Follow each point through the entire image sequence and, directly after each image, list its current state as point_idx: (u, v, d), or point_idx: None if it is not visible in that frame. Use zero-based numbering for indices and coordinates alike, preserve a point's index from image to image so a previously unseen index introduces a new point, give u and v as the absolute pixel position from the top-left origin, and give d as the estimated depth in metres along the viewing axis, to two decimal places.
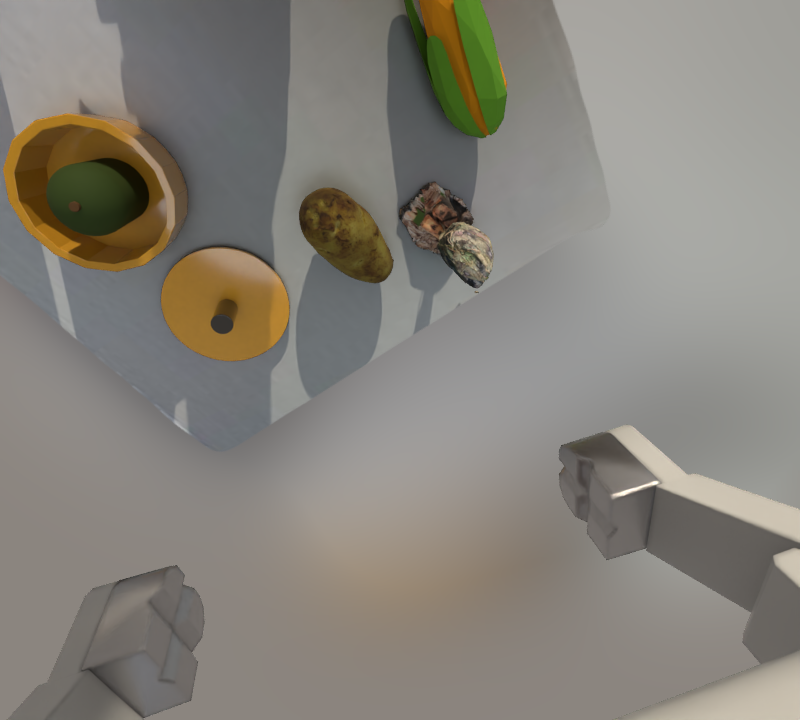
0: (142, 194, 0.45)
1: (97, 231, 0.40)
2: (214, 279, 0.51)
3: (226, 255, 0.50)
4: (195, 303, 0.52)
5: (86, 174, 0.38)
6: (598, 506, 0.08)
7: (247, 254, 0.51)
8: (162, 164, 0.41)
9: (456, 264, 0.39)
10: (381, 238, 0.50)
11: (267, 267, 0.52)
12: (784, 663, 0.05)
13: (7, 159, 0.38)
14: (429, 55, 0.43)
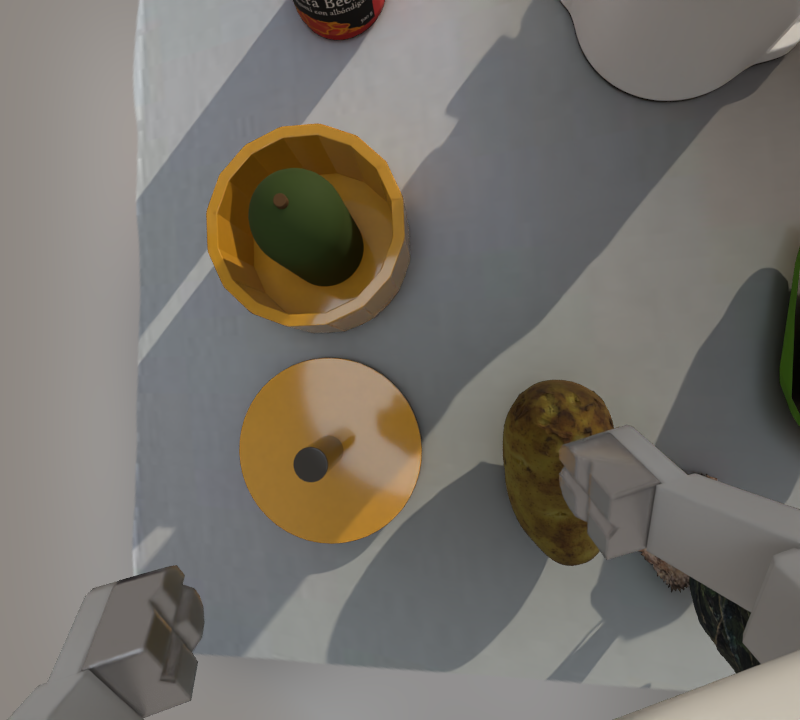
0: (351, 262, 0.33)
1: (276, 247, 0.27)
2: (344, 405, 0.34)
3: (381, 387, 0.34)
4: (297, 417, 0.35)
5: (323, 185, 0.27)
6: (598, 506, 0.08)
7: (406, 403, 0.34)
8: (405, 239, 0.30)
9: None
10: None
11: (417, 435, 0.34)
12: (784, 663, 0.05)
13: (258, 139, 0.30)
14: None
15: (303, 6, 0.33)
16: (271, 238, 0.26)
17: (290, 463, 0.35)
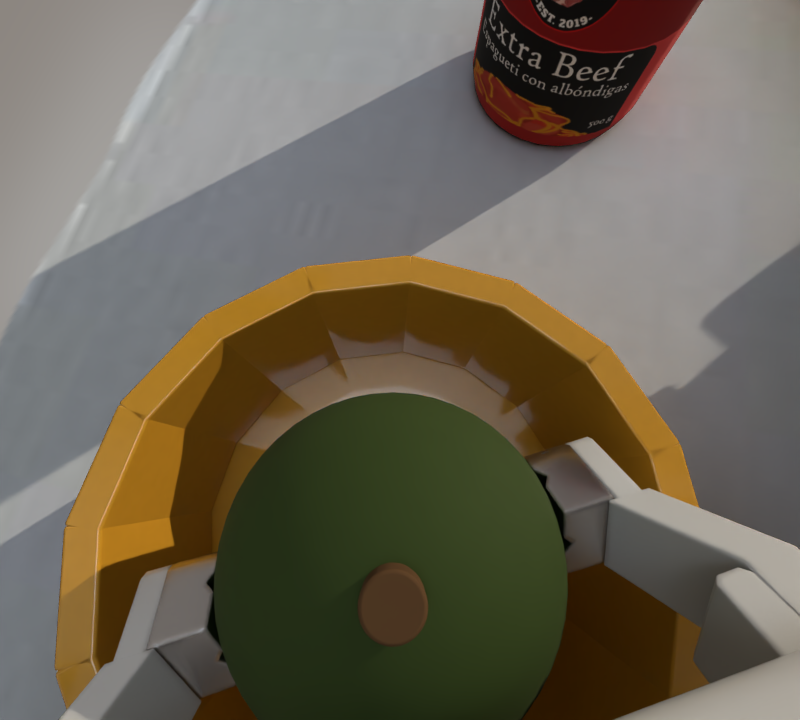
0: None
1: None
2: None
3: None
4: None
5: (549, 521, 0.07)
6: None
7: None
8: None
9: None
10: None
11: None
12: (784, 663, 0.05)
13: (343, 265, 0.11)
14: None
15: (503, 61, 0.17)
16: (280, 711, 0.06)
17: None
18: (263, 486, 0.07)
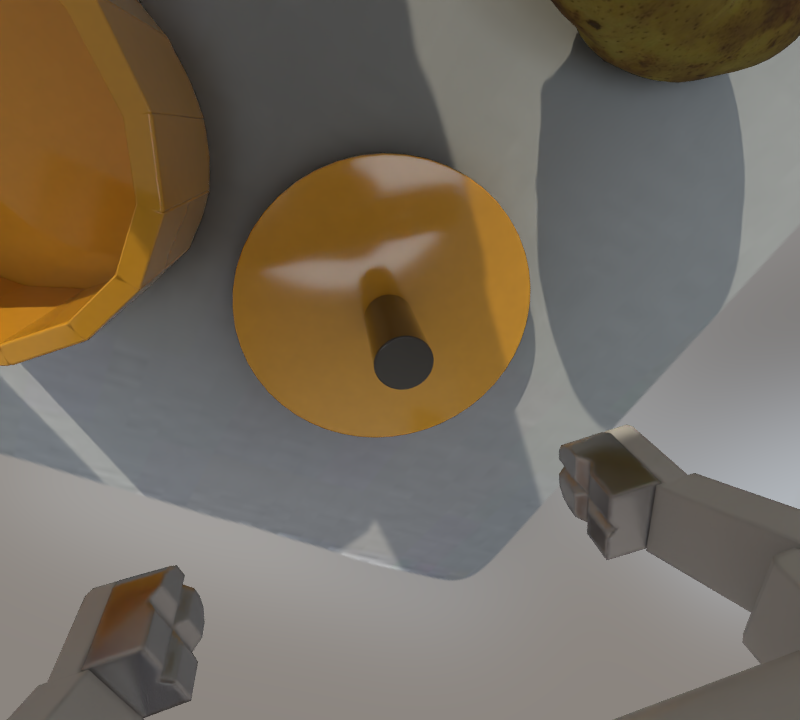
0: None
1: None
2: (335, 260, 0.20)
3: (338, 184, 0.19)
4: (318, 336, 0.22)
5: None
6: (598, 506, 0.08)
7: (385, 156, 0.18)
8: None
9: None
10: None
11: (445, 169, 0.19)
12: (784, 663, 0.05)
13: None
14: None
15: None
16: None
17: (376, 374, 0.23)
18: None
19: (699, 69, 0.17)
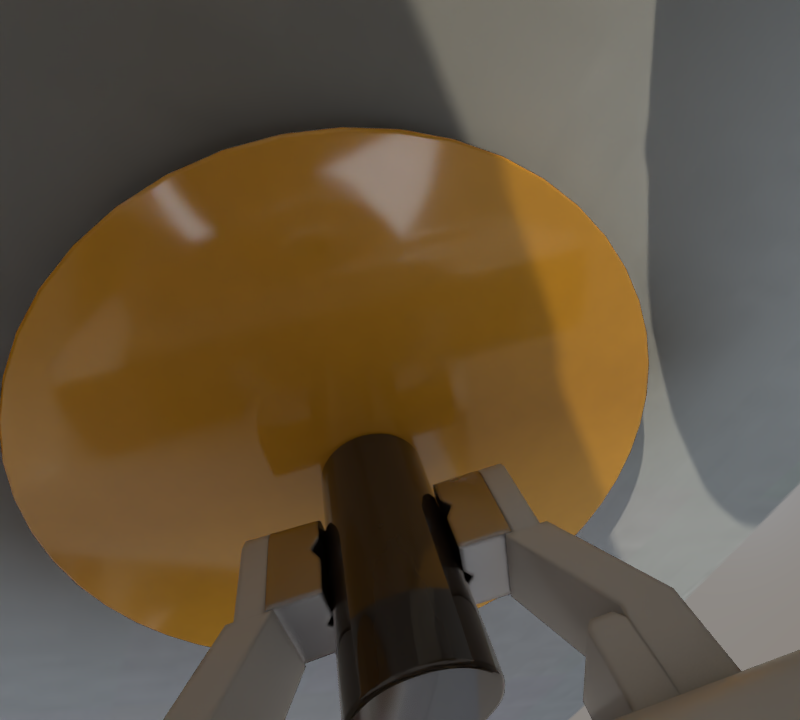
0: None
1: None
2: (230, 398, 0.09)
3: (184, 232, 0.07)
4: (235, 534, 0.11)
5: None
6: (457, 552, 0.08)
7: (292, 140, 0.07)
8: None
9: None
10: None
11: (449, 149, 0.07)
12: (784, 663, 0.05)
13: None
14: None
15: None
16: None
17: None
18: None
19: None
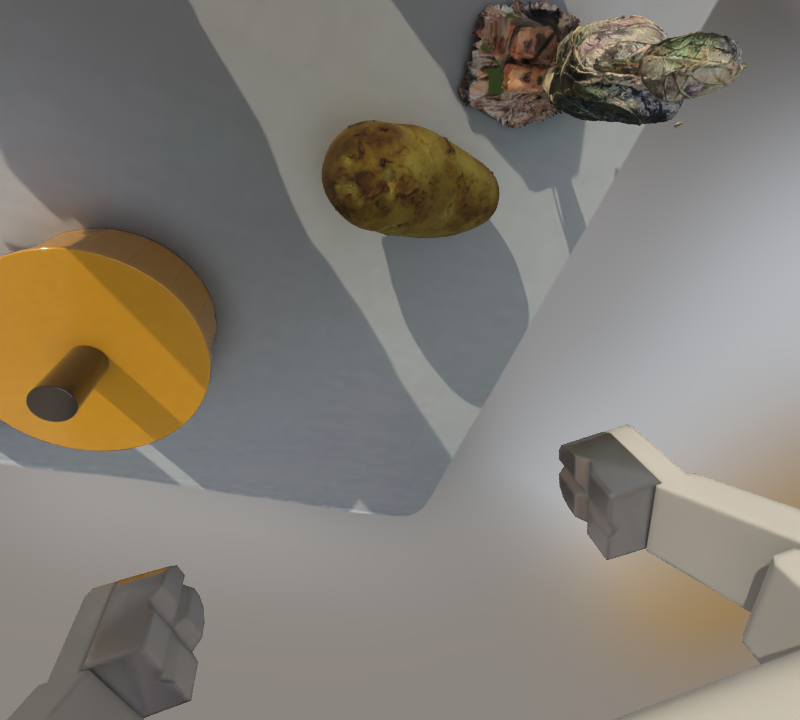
0: None
1: None
2: (23, 329, 0.27)
3: None
4: None
5: None
6: (598, 506, 0.08)
7: (25, 252, 0.25)
8: (126, 258, 0.27)
9: (656, 87, 0.17)
10: (460, 151, 0.29)
11: (77, 252, 0.25)
12: (784, 663, 0.05)
13: None
14: None
15: None
16: None
17: (101, 403, 0.30)
18: None
19: (449, 235, 0.33)
